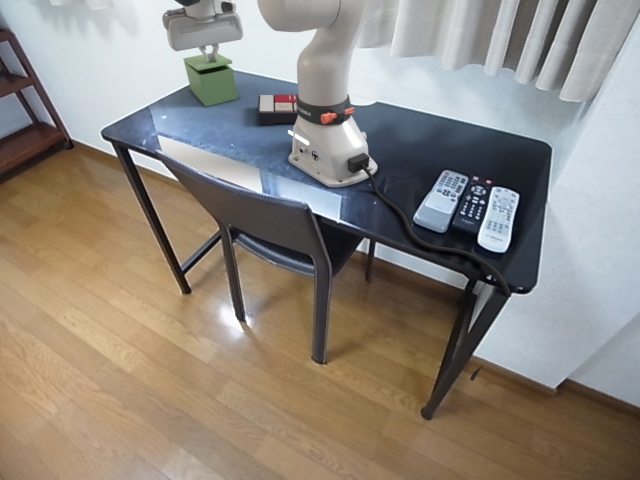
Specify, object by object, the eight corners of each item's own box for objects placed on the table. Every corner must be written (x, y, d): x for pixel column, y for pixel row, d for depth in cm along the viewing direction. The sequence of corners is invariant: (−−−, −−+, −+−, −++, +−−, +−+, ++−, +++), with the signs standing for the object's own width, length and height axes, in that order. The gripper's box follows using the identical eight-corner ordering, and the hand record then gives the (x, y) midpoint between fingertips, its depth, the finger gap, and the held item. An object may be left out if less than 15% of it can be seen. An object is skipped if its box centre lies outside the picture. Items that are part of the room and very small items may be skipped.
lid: (232, 63, 106) (232, 60, 106) (198, 70, 102) (197, 67, 102) (215, 54, 116) (215, 52, 115) (183, 61, 112) (183, 58, 112)
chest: (237, 98, 114) (232, 69, 108) (205, 106, 110) (199, 76, 104) (221, 83, 122) (215, 55, 116) (191, 90, 118) (183, 61, 112)
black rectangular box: (313, 110, 100) (257, 110, 99) (313, 125, 103) (258, 125, 102) (310, 93, 108) (258, 92, 107) (310, 107, 111) (259, 107, 110)
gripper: (163, 14, 90) (178, 72, 100) (241, 2, 98) (248, 58, 108) (156, 8, 94) (171, 65, 104) (232, -3, 102) (239, 51, 111)
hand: (211, 61), depth 106 cm, fingers closed, pressing on lid
